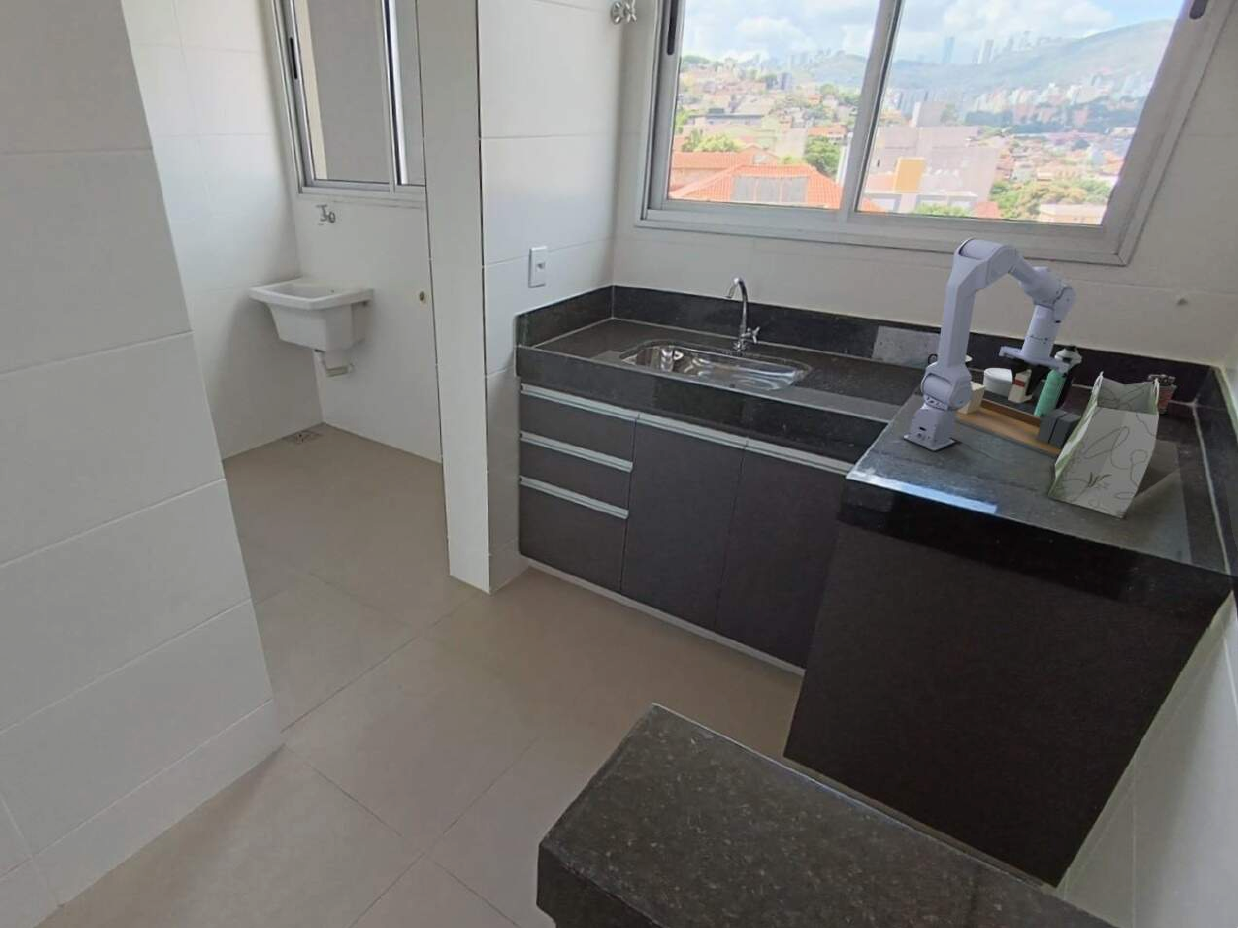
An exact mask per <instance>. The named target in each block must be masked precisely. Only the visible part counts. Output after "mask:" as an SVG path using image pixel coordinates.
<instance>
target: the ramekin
mask: <svg viewBox="0 0 1238 928" xmlns="http://www.w3.org/2000/svg"><path fill="white" fill-rule="evenodd" d="M982 385H984V386H986V388H985V391H988V392H990V393H993V394H997V395H1000V396H1002V397H1004V398H1005V397H1006V398H1009V395H1010V392H1011V389H1012V373H1011V369H1007V368H1002V367H1001V368H1000V367H989V368H986V369H985V370H984V371H983V383H982Z"/></svg>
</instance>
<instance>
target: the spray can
mask: <svg viewBox="0 0 1238 928" xmlns="http://www.w3.org/2000/svg"><path fill="white" fill-rule="evenodd" d="M1078 352H1079V351H1078V350H1077V345H1076V344H1068V345H1067V347H1065V348H1063V350H1061V351H1056V353H1055V355H1054V357H1053V358H1054V359H1056V360H1059V361H1062V362H1065V363H1068V364H1070V365H1069V367H1068V370H1067V372H1066V373H1059V372H1058V371H1056V370H1052V371H1051V372H1050V373H1049V374H1048V375H1047V376H1046V379H1045V382H1044V385H1043V388H1042V391H1041V394H1040V396H1039V399H1038V402H1037V405H1036V407H1035V411H1034V413H1033V415H1035V416H1038V417H1041V418H1044V416H1045V414H1046V413H1049V412H1051V411H1053V410H1056V409H1059V410H1062V411H1064V407H1065V405H1066V403H1067V400H1068V396H1069V394H1070V391H1071V389H1072V386H1073V384H1074V381H1075V378H1076V376H1077V373H1078V370H1079V367H1080V365H1081V363H1082V358H1083V356H1082V355H1080V354H1079V353H1078Z"/></svg>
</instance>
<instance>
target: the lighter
mask: <svg viewBox="0 0 1238 928" xmlns="http://www.w3.org/2000/svg"><path fill="white" fill-rule="evenodd" d="M1156 378H1158V383H1159V395H1158V403H1157V408H1158V413H1159V415H1160V414H1162V415H1163V414H1166V411H1167V407H1168V404H1169V403H1170V400H1171V398H1172V396H1173V394H1174V392H1175V391H1176V389H1177V385H1175V384H1173V383H1174V381H1175V379H1176V378H1175V377H1174V376H1168V375H1166V374H1149V375H1148V377H1147V380H1148V381H1142V383H1152V385H1153V390H1154V386H1155V379H1156ZM1155 397H1157V386H1156V389H1155Z"/></svg>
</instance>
